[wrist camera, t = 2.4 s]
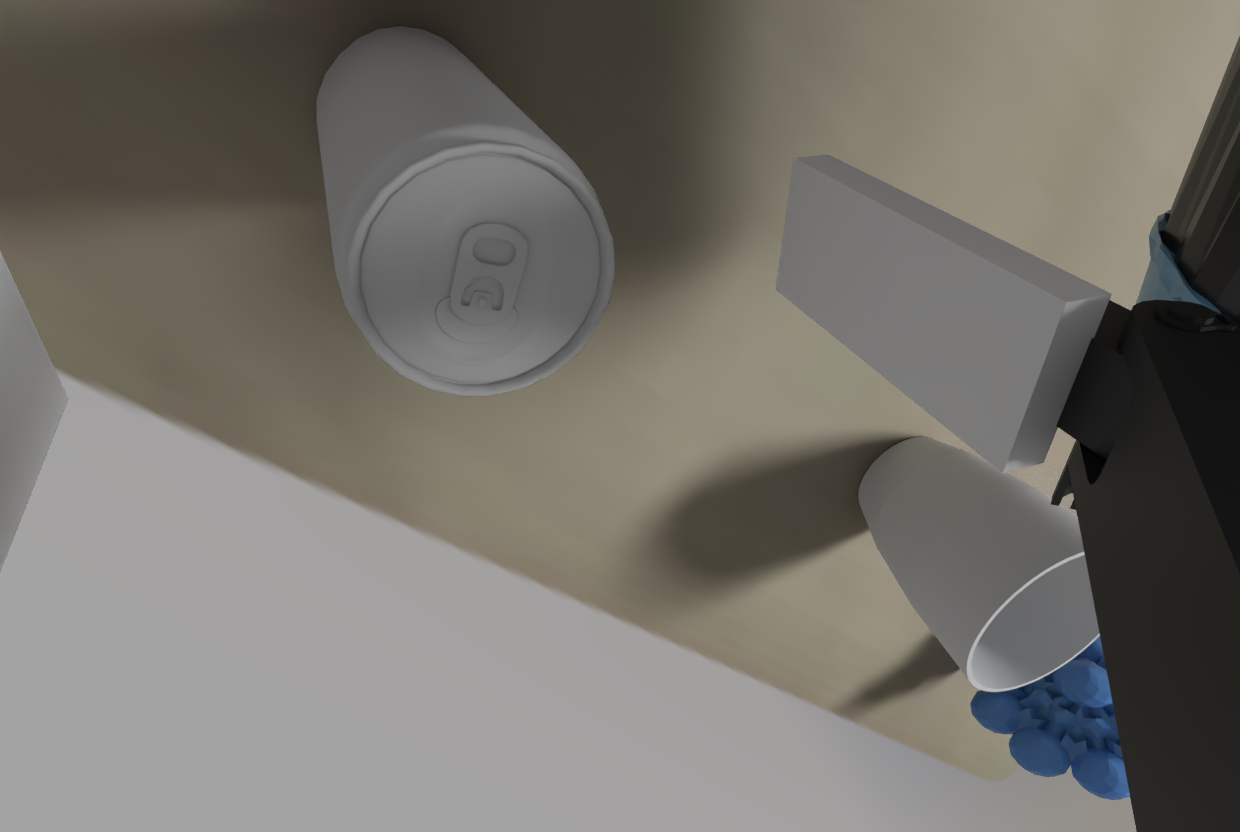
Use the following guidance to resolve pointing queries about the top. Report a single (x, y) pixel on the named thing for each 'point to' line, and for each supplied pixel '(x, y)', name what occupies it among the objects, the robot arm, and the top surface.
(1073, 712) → the grapes
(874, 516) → the cup
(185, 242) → the top surface
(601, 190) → the top surface
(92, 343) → the top surface
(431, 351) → the beverage can
